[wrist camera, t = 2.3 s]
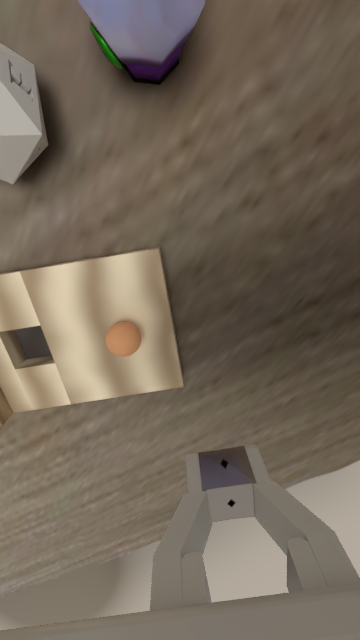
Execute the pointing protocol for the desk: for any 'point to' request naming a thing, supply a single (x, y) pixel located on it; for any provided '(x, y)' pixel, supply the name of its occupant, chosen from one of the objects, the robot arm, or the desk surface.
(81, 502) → the desk surface
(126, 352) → the ball
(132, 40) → the potion bottle
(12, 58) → the die
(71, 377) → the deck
